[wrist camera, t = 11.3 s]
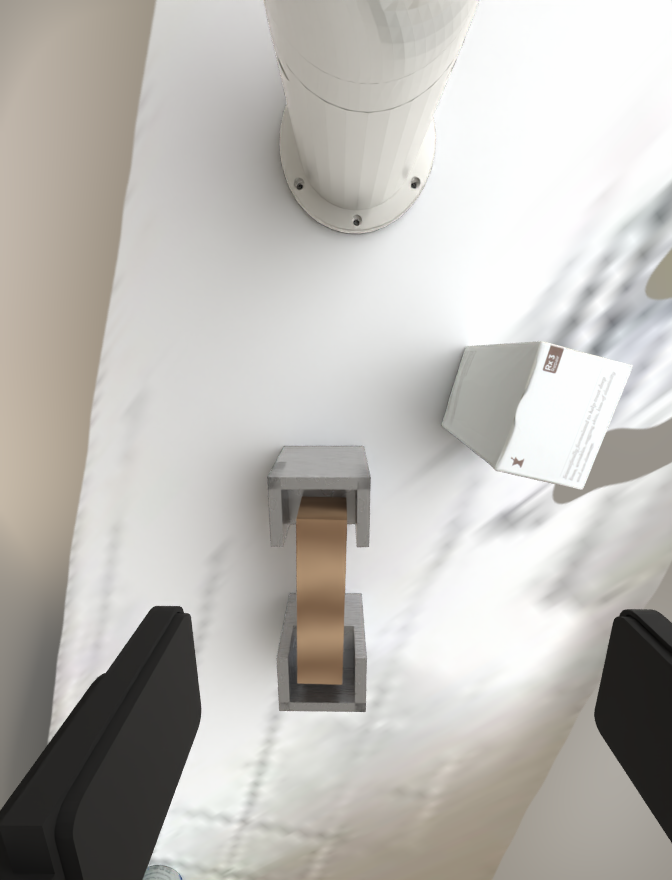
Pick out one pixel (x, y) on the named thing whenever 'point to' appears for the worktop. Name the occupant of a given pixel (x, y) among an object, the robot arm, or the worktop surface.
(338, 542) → the walnut rail
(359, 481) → the brackets
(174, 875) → the spray paint can
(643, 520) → the worktop surface
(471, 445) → the skincare box
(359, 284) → the worktop surface
